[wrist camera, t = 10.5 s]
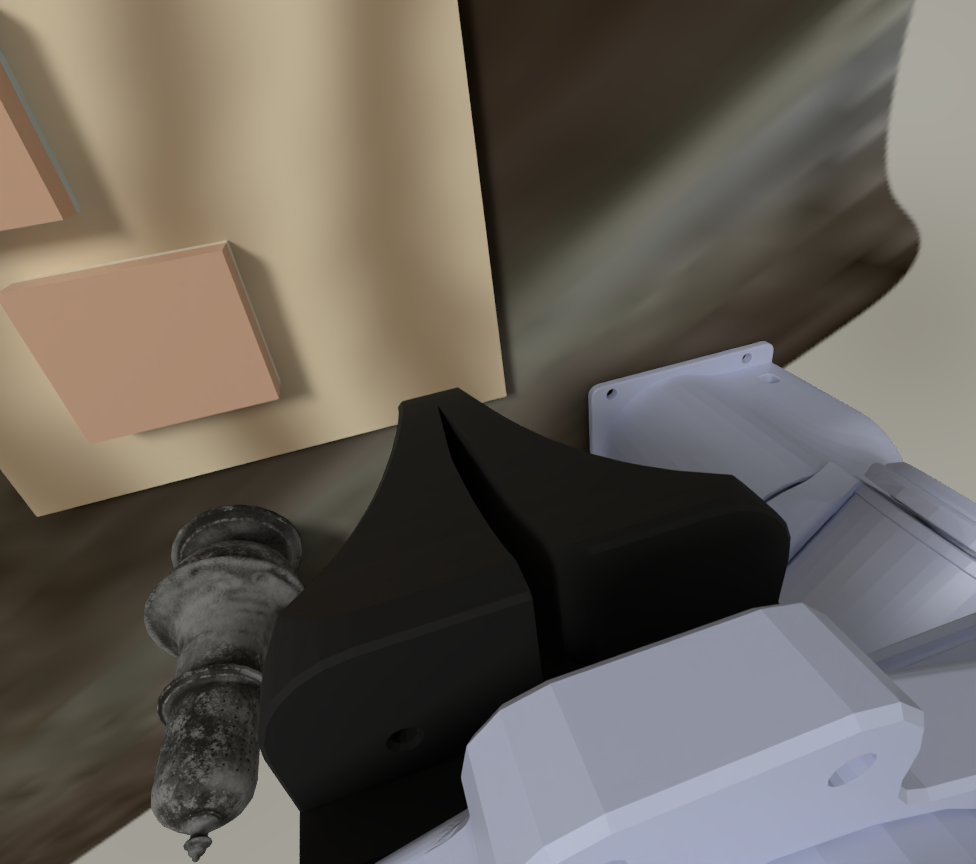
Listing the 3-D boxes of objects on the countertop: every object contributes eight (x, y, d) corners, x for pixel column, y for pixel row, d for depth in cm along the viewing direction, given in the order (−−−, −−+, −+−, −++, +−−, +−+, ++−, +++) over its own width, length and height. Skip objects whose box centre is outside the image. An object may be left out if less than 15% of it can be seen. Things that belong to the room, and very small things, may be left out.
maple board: (432, -125, 15) (440, -138, 14) (499, 386, 24) (506, 396, 23) (-363, -55, 12) (-411, -67, 11) (47, 500, 21) (36, 516, 20)
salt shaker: (312, 499, 24) (319, 777, 14) (305, 597, 27) (306, 889, 17) (159, 499, 22) (42, 823, 12) (167, 605, 25) (77, 941, 15)
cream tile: (221, 250, 16) (-6, 294, 15) (279, 399, 19) (89, 444, 18) (227, 239, 17) (18, 279, 16) (280, 380, 20) (103, 422, 19)
